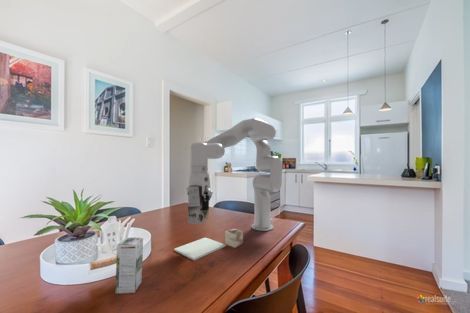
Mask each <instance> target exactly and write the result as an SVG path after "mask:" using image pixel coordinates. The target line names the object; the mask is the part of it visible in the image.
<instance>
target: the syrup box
mask: <svg viewBox="0 0 470 313" xmlns="http://www.w3.org/2000/svg"><path fill="white" fill-rule="evenodd" d="M143 253H144V238H143V237H125V238H124V239H123V240H121V241H120V243H118V244H117V245H116V260H115V261H116V263H115V264H116V265H115V266H116V267H115V269H116V270H115V289H114V290H115V292H114V293H115V294H119V295H120V294H130V293H131V294H132V293H133V294H134V293H136V291H137V290H138V288H139V287H140V285H141V284H142V282H143V262H144V260H143V258H144V257H143V256H144V255H143Z"/></svg>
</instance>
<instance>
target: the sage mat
mask: <svg viewBox="0 0 470 313" xmlns="http://www.w3.org/2000/svg"><path fill="white" fill-rule="evenodd" d="M225 247H226V244H225V243H222V242H219V241H216V240H214V239H211V238H209V237H208V238H207V237H202V238H200V239H197V240H195V241H192V242H189V243H187V244H184V245H180V246H178V247H175V248H174V249H173V251H174V252H176V253H178V254H180V255H182V256H184V257H187V259H189V260H192V261H197V260H199V259H201V258H204V257H205V256H207V255H209V254H211V253H213V252H216V251H218V250H219V251H220V250H221V249H223V248H225Z"/></svg>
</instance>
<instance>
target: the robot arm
mask: <svg viewBox="0 0 470 313" xmlns="http://www.w3.org/2000/svg"><path fill="white" fill-rule="evenodd" d="M276 134H277V131H276V128H275V127H274V126H273V125H272V124H270V123H269V122H266V121H265V120H262V119H260V118H256V117H254V118H248V119H247V118H246V119H244V120H240V122H237V124H235V125H234V126H232V127H231V128H229V129H228V130H226V131H224V132H222V133H220V134H217V135H216V136H214V137H212V138H210V139H209V140H207V141H204V142H199V141H198V142H197V141H196V142H192V143H191V144H190V174H189V182H188V186H187V188H186V192H187V195H188V192H189V186H192V185H193V186H202V196H203V202H202V210H203V211H205V210H209V209H210V200H211V198H212V196H213V194H214V192H213V190H212V189H211V179H210V174H209V172H208V171H209V169H208V167H209V166H208V161H209V160H218V159H221V158H223V156H224V155H225V153H226V149H225V148H230V147H233V146H235V145H237V144H238V143H240V142H241V141H242V140H244V139H245V138H247V137H249V138H250V140H251V141H252V142H253V143H254V145H255V148H256V155H255V156H256V157H255V158H256V159H255V161H256V162H255V167H256V170H257V171H259V172H261V173H260V174H257V175H255V176H253V179H252V187H253V194H254V196H253V197H254V198H253V199H254V200H253V201H254V214H253V216H254V221H253V222H254V223H252V224H251V228H252V229H253V230H255V231H260V232H266V231H267V232H268V231H272V230H273V229H274V225H273V224H272V222H274V218H271V217H272V216H271V207H272V206H271V200H272V199H271V195H270V193H271V192H272V193H273V192H274V193H277V192H279V191H280V190H281V188H282V184H283V182H282V181H283V162H282V160H281V158H280V156H277V155H272V154H271V152H272V149H271V145H270V143H269V142H268V141H271V140H273V139H274V138H275V137H276ZM264 173H265V174H264ZM266 173H269V174H266ZM204 192H205V194H204ZM205 196H206V198H205ZM209 211H210V210H209Z"/></svg>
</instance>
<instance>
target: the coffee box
mask: <svg viewBox="0 0 470 313" xmlns="http://www.w3.org/2000/svg"><path fill="white" fill-rule="evenodd" d="M188 187H189V192H187V193H188V194H187V195H188V196H187V197H188V199H187V200H188V201H187V203H188V204H187V205H188V206H187V208H188V210H187V223H188V224H194V225H195V224H197V225H202V224H203V223H204V222H206V221H207V220H209V214H210V213H209V212H210V210H205V211H203V210H202V202H203V196H202V186H193V185H192V186H189V185H188ZM204 194H205V192H204ZM205 198H206V196H205Z"/></svg>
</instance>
